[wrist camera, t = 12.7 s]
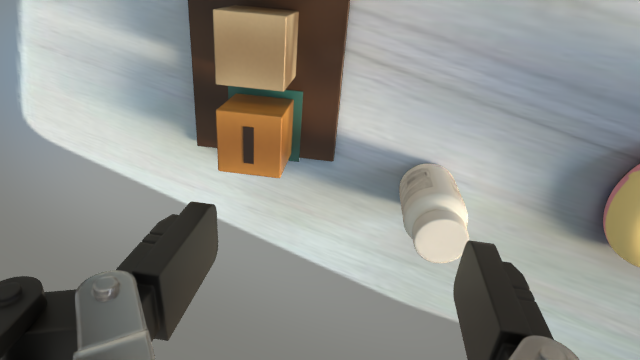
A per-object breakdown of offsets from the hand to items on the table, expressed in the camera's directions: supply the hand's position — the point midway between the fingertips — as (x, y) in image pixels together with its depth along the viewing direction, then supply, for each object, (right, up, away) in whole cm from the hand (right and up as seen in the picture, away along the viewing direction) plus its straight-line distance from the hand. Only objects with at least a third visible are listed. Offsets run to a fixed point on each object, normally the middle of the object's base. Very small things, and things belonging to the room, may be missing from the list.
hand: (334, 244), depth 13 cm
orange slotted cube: (-5, +6, +18) cm, 19 cm away
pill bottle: (+8, +2, +20) cm, 21 cm away
